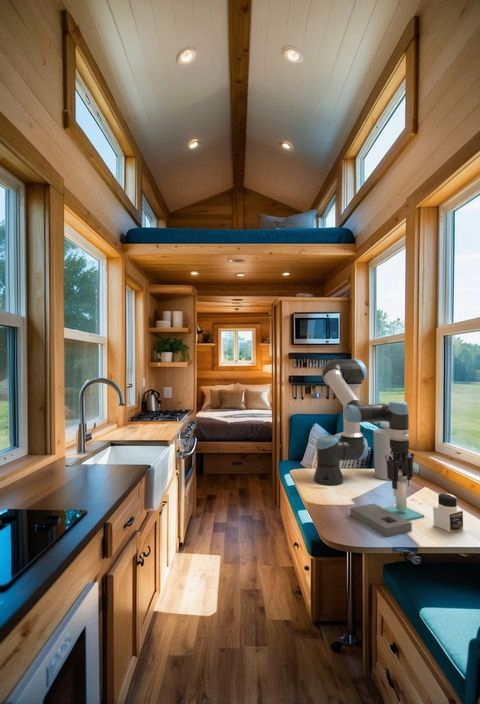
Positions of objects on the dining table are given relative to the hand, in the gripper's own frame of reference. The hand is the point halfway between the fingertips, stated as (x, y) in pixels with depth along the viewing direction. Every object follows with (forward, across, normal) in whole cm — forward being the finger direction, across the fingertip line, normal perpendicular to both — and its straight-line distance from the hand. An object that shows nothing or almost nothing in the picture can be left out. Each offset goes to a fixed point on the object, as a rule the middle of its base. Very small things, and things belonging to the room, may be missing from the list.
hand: (400, 495), depth 148 cm
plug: (+5, 0, 0) cm, 5 cm away
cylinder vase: (+7, +30, +40) cm, 51 cm away
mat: (+8, 0, 0) cm, 8 cm away
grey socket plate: (+8, -14, -3) cm, 16 cm away
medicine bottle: (+8, +7, -16) cm, 19 cm away
